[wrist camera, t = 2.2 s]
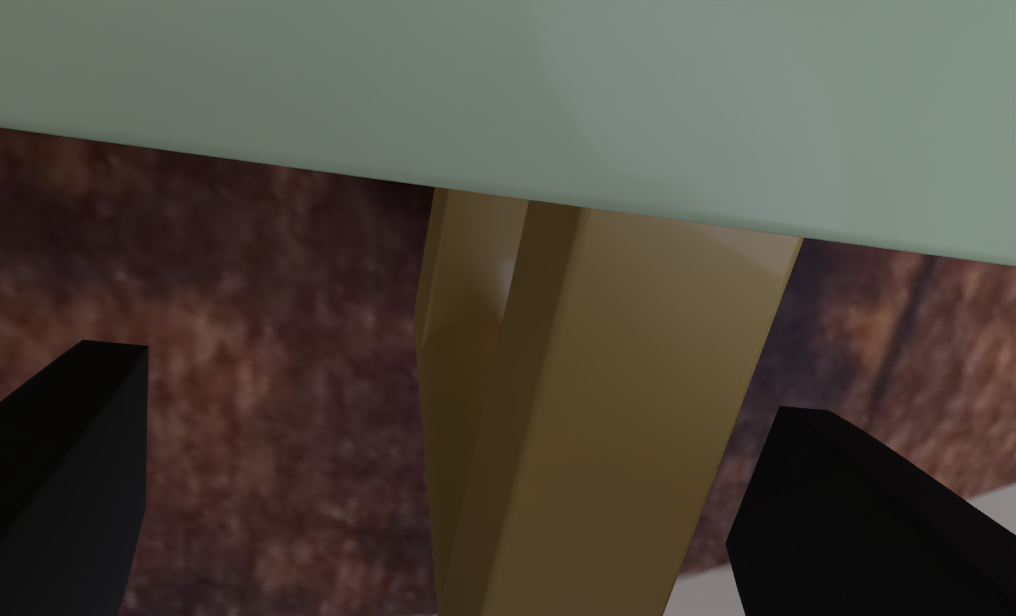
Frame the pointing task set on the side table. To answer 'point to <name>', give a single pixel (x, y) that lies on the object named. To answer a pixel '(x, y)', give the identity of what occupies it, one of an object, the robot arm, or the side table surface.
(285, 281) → the side table surface
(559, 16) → the door
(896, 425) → the side table surface
